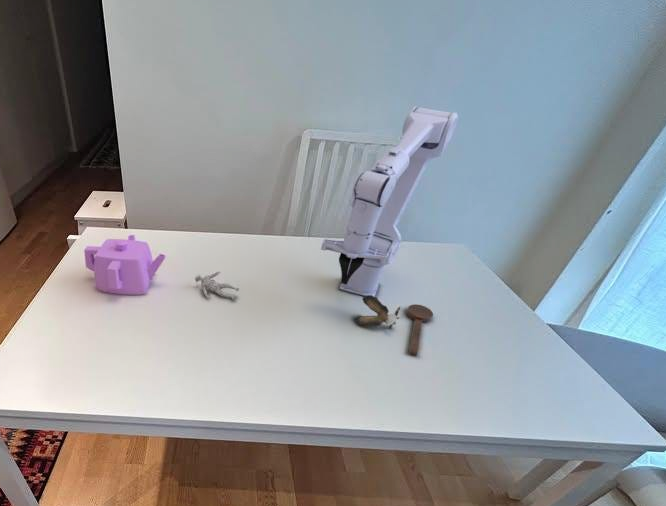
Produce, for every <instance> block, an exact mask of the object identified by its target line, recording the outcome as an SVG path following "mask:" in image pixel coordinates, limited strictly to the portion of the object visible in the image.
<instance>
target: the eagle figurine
mask: <svg viewBox="0 0 666 506" xmlns="http://www.w3.org/2000/svg"><path fill="white" fill-rule="evenodd" d="M361 299H362V301H363V304H365V305H366V306H367V307H368V309H370V310H371V311H373V312H374V313H376V314H377V315H357V316H356V317H354V319H353V320H354V322H356V324H357V325H359V326H373V327H380V326H381V325H383V323H385V324H386V326H388V327H389V328H390V330H391V329H392V328H393V325H396V324H397V323H396V321H397V320H399V319H400V317H398V315H399V312H400V310H401V306H398V307H397V309H396V310H395V312H394V313H391V314H389V312H390V310H389V309H388V307H387V305H384V304H383V303H382V302H381V301H380V300H379V299H378V297H376V296H375V297H374V296H370V295H368V296H363V297H362V298H361Z"/></svg>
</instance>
